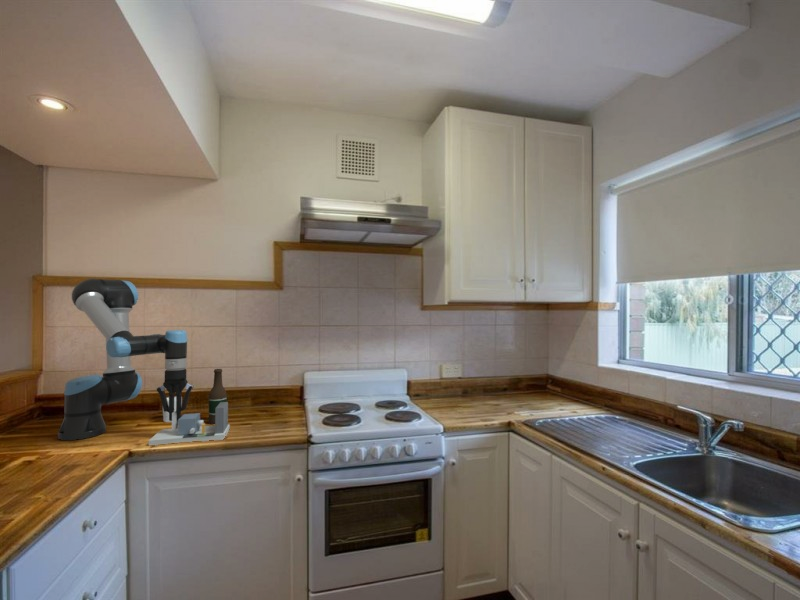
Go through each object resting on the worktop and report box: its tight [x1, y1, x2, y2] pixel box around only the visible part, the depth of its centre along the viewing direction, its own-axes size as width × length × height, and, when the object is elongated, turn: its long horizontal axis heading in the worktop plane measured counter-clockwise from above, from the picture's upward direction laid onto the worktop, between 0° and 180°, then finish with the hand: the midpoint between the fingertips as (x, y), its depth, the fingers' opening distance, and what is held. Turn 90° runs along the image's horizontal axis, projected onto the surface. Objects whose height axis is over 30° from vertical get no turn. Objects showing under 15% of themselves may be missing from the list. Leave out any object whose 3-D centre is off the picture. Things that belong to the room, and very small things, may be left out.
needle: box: [202, 422, 206, 434], centre depth 150 cm, size 1×2×4 cm, turn 15°
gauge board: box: [148, 401, 231, 446], centre depth 154 cm, size 26×14×12 cm, turn 105°
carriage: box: [178, 412, 205, 435], centre depth 152 cm, size 8×11×6 cm
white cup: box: [162, 396, 183, 423], centre depth 177 cm, size 8×8×10 cm
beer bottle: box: [208, 368, 228, 425], centre depth 174 cm, size 8×8×24 cm
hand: (174, 428), depth 152 cm, fingers closed
